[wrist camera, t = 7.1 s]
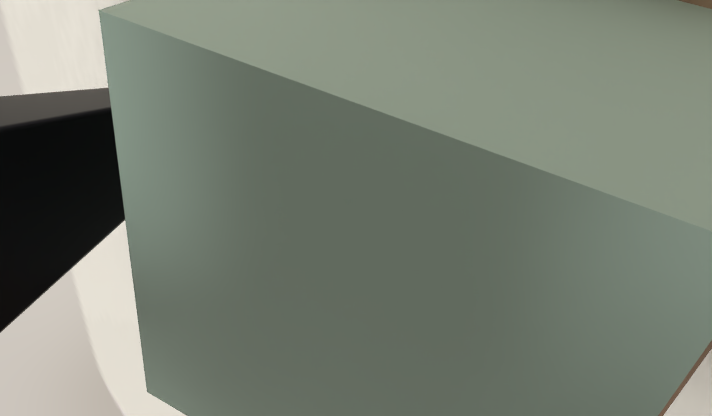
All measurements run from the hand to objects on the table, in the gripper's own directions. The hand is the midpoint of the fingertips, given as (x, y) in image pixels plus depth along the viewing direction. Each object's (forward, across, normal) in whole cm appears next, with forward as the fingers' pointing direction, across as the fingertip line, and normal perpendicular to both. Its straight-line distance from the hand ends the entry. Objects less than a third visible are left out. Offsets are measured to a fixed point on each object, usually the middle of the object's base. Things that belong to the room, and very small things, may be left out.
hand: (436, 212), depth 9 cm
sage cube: (+3, 0, 0) cm, 3 cm away
